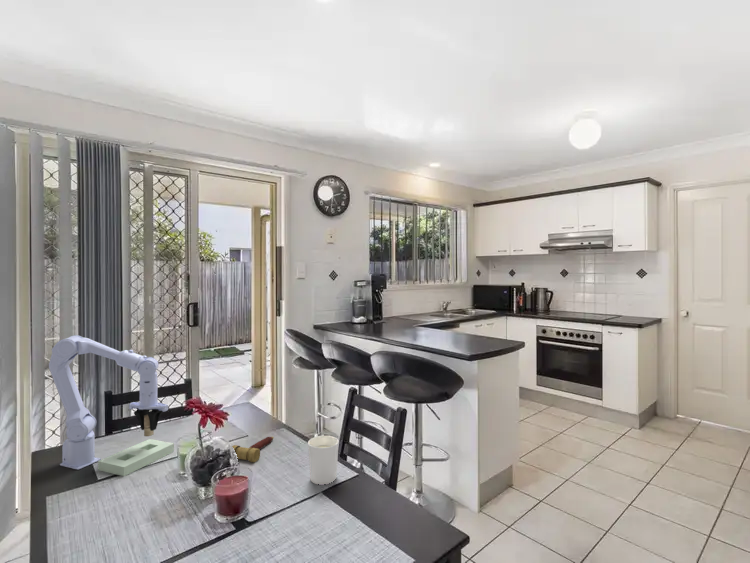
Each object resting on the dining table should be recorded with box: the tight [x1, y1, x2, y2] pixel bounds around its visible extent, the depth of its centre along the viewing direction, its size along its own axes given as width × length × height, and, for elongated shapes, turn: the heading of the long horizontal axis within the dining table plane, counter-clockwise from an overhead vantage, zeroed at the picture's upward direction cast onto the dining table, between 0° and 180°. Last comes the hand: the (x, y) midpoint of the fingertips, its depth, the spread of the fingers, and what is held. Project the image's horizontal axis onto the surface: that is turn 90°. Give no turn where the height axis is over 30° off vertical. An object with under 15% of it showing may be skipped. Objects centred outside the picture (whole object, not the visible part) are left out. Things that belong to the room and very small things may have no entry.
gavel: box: [231, 436, 274, 463], centre depth 154 cm, size 21×5×10 cm
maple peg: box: [143, 414, 155, 437], centre depth 149 cm, size 3×3×7 cm
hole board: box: [97, 438, 175, 477], centre depth 145 cm, size 12×20×3 cm, turn 160°
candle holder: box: [307, 435, 340, 486], centre depth 132 cm, size 10×10×12 cm
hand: (148, 429), depth 149 cm, fingers closed on maple peg, 3 cm apart
